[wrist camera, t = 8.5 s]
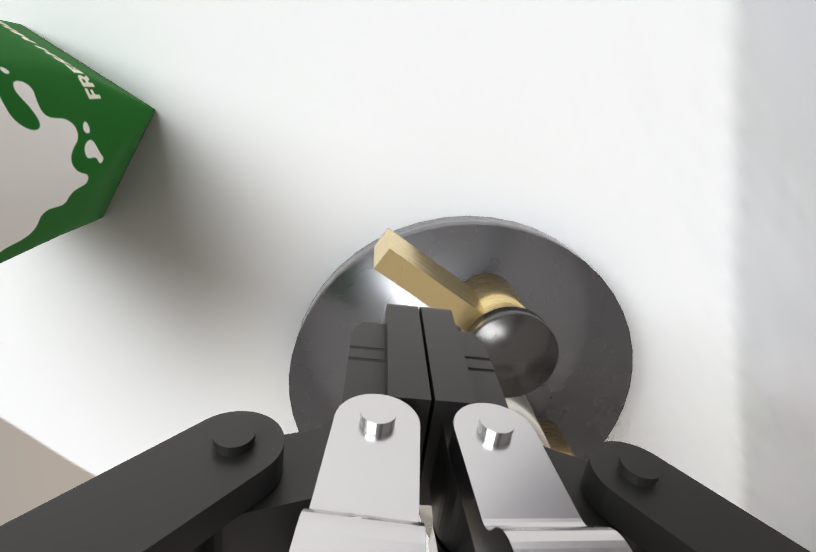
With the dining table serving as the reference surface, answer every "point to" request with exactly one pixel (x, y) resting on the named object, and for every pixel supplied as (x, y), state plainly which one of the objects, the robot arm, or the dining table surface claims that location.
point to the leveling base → (463, 257)
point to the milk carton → (58, 140)
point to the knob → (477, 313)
